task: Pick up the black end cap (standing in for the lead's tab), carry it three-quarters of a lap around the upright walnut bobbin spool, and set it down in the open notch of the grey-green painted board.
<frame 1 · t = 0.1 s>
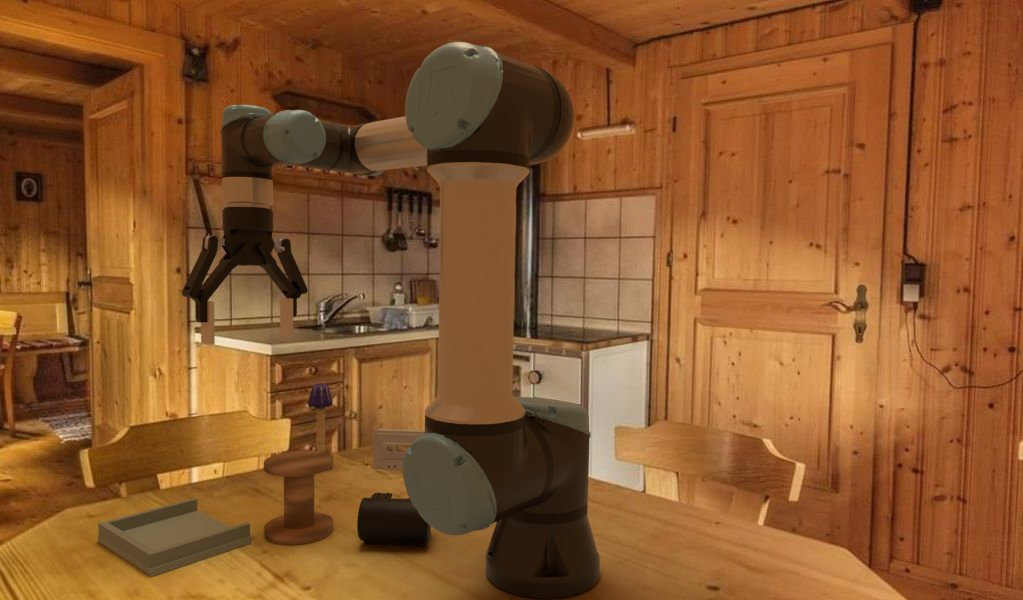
hand: (249, 340, 111), 28 cm above the table, tool pointing down, fingers open, 13 cm apart
end cap: (396, 544, 101), on the table
toy lamp: (320, 469, 136), on the table
cassette: (403, 469, 137), on the table
bobbin spool: (299, 531, 105), on the table
notched board: (174, 542, 100), on the table
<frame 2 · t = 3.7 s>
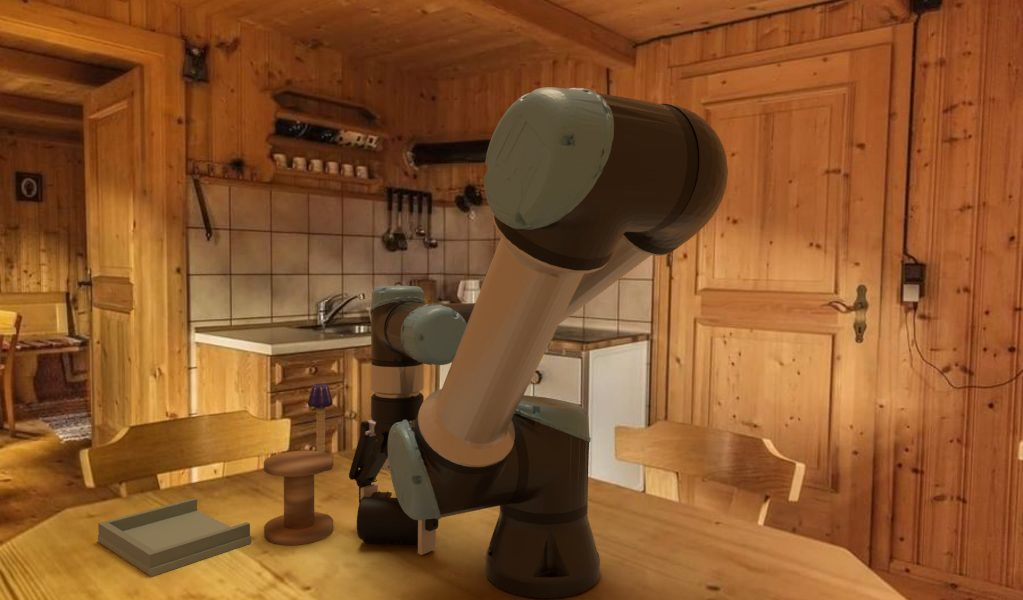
hand: (396, 539, 101), 0 cm above the table, tool pointing down, fingers closed on end cap, 12 cm apart
end cap: (396, 543, 101), on the table, touching gripper
everything else where it was.
when the fingers open (4 cm above the table, at t = 11.1 s): end cap drops 2 cm, resting on notched board.
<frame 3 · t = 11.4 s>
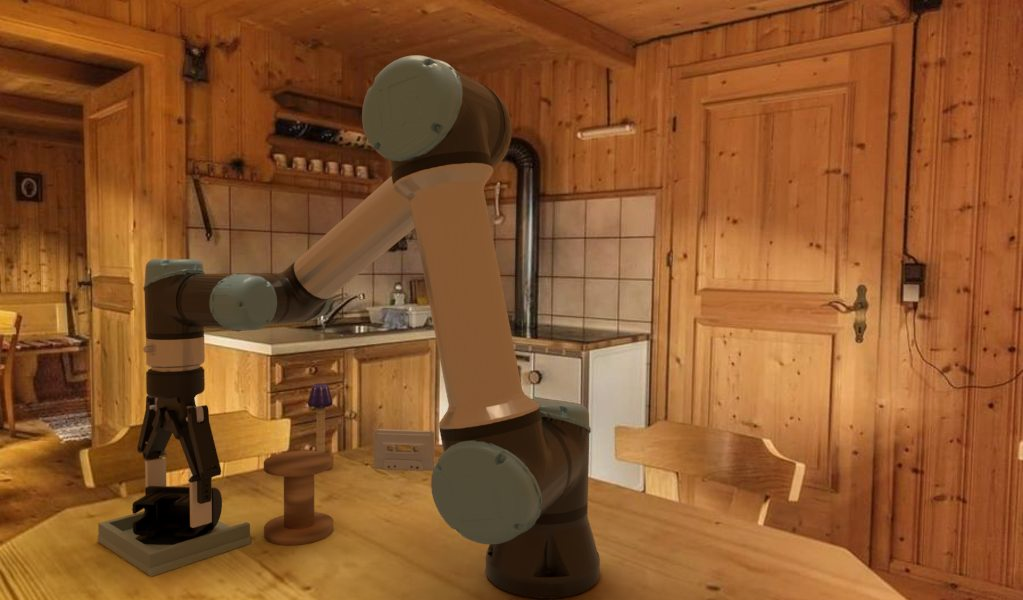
hand: (177, 513, 100), 4 cm above the table, tool pointing down, fingers open, 13 cm apart
end cap: (178, 536, 100), point 1 cm above the table, touching notched board
everything else where it was.
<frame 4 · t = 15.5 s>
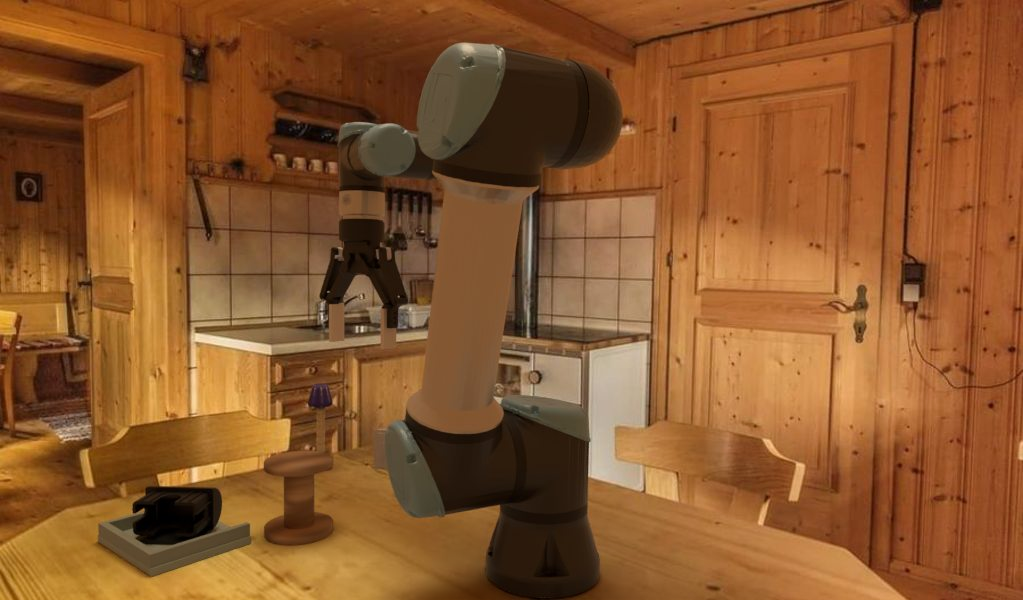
hand: (361, 344, 117), 27 cm above the table, tool pointing down, fingers open, 13 cm apart
nothing on the table moved.
at the end: end cap inside the target area on the notched board (0.5 cm from its centre), point 0.8 cm above the notched board's base; the gripper is holding nothing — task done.
